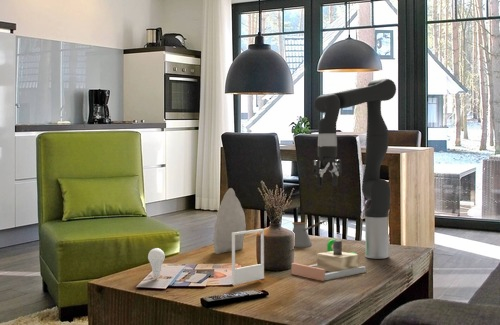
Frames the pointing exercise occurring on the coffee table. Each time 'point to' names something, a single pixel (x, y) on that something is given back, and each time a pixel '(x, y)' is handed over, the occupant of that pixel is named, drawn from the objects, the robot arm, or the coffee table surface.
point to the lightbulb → (156, 260)
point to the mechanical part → (331, 245)
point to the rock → (229, 224)
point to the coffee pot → (303, 233)
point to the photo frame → (249, 271)
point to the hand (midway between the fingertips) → (327, 186)
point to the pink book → (323, 272)
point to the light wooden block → (337, 259)
